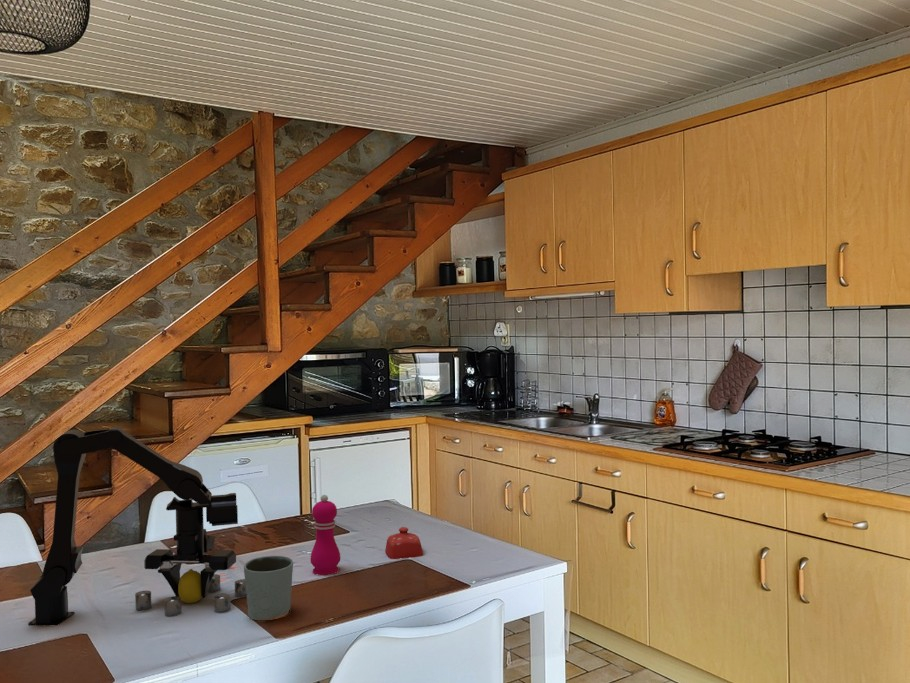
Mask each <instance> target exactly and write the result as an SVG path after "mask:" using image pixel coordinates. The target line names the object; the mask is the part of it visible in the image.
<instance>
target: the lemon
mask: <svg viewBox="0 0 910 683" xmlns="http://www.w3.org/2000/svg"><path fill="white" fill-rule="evenodd" d="M178 593H179V597H181V602H184V603H185V604H195V603H197V602H199V601H200V599H202V593H201V574H200V572H199V571H196V570H193V568H190V569H189V570H187V571H186V572H184V573H183V574H182V575H180V580H179V584H178Z"/></svg>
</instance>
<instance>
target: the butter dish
mask: <svg viewBox="0 0 910 683" xmlns="http://www.w3.org/2000/svg"><path fill="white" fill-rule="evenodd" d="M398 531H399V532H398V533H394V534H391V535H389V536H388V537H387V539H386V543H385V550H384V552H385V555H386V556H387V558H389V560H401V559H400V558H402V559H409V557H411V558H418V557H423V555H424V552H423V548H422V542H421V540H420V538H419V536H418V535H417V534H415V533H411V532H408V531H409V528H408V527H405V526H402V527H400V528H398Z"/></svg>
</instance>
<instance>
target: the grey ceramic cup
mask: <svg viewBox="0 0 910 683" xmlns="http://www.w3.org/2000/svg"><path fill="white" fill-rule="evenodd" d="M293 569H294V561H293V559H292V558H291V557H288V556H284V555H265V556H259V557H255V558H251V559H250V560H248V561H246V562H245V563H244V565H243V573H244V574H243V575H244V579H245V583H246V593H247V596H246V603H247V604H246V605H247V618H248V617H249V618H251V619H255V620H258V619H259V620H261V619H262V620H263V619H270V618H274V617H278V616H281V615H284V614H286V613H287V612H288V611H289V610H290V611H291V606H292V605H291V604H292V591H293V590H292V588H293V572H294V570H293ZM249 618H248V619H249ZM251 619H250V620H251Z"/></svg>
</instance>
